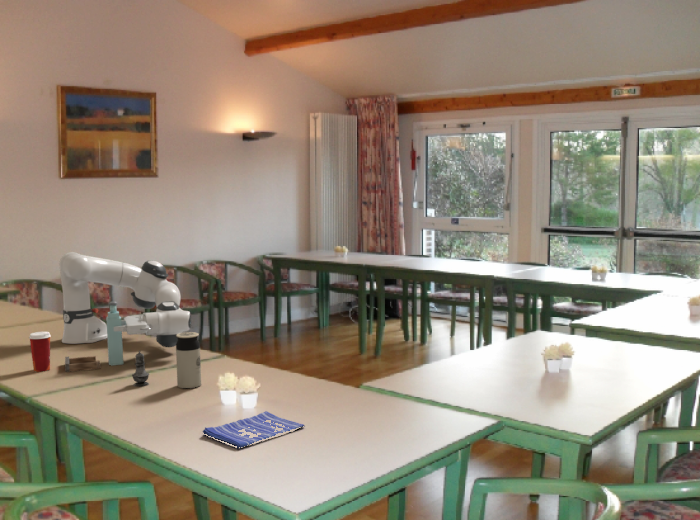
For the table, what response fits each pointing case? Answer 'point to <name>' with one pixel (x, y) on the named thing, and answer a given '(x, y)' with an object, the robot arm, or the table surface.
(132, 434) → the table surface
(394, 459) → the table surface
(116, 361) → the bottle
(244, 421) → the dish towel
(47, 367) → the paper cup
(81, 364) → the brown square frame
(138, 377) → the salt shaker
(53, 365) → the table surface
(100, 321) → the robot arm
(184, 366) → the travel mug
